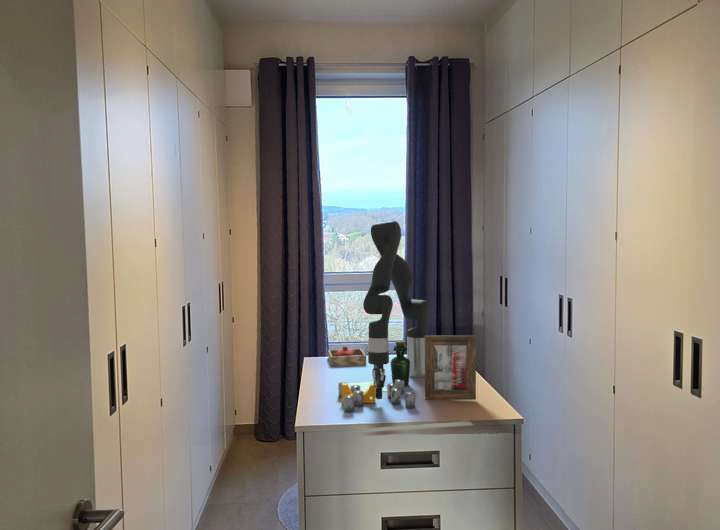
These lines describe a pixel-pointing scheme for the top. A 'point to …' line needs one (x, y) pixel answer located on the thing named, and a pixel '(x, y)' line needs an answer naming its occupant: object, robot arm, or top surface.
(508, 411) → the top surface
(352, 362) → the frame
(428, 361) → the picture frame
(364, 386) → the pad
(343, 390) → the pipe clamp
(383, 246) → the robot arm
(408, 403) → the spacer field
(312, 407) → the top surface
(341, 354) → the butter dish
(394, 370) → the potion bottle
